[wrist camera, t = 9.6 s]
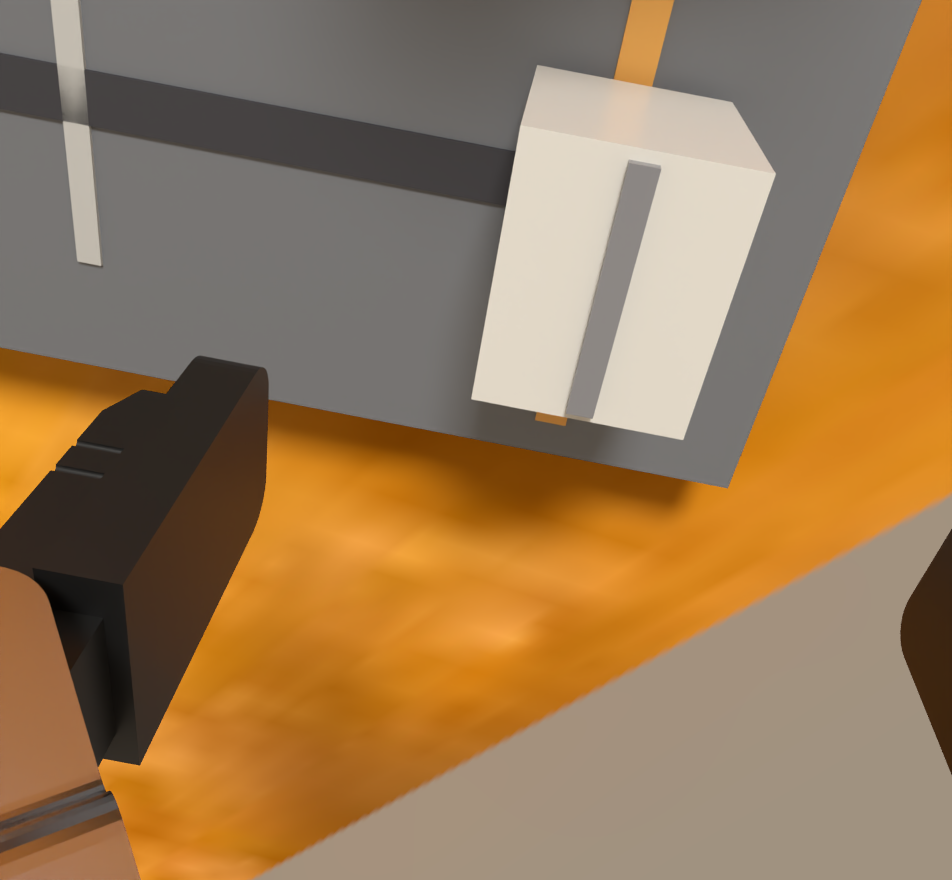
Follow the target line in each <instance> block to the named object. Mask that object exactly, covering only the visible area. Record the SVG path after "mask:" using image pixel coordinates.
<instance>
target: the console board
mask: <svg viewBox="0 0 952 880" xmlns="http://www.w3.org/2000/svg"><path fill="white" fill-rule="evenodd" d="M921 1H922V0H0V347H1V348H6V349H11V350H17V351H22V352H27V353H32V354H37V355H42V356H48V357H53V358H58V359H63V360H68V361H73V362H79V363H84V364H89V365H94V366H99V367H104V368H110V369H115V370H120V371H125V372H130V373H135V374H141V375H146V376H151V377H156V378H161V379H166V380H172V381H177V379H178V378H179V377H180V375H181V374H182V373H183V372H184V370H185V369H186V368H187V366H188V365H189V364H190V362H191V361H192V360H193V359H194V358H195V357H197V356H200V355H201V356H206V357H211V358H216V359H222V360H227V361H232V362H238V363H243V364H248V365H253V366H259V367H263V368H265V369H266V371H267V374H268V380H269V398H268V399H270V400H275V401H280V402H285V403H290V404H295V405H301V406H306V407H311V408H316V409H321V410H326V411H332V412H337V413H342V414H347V415H352V416H357V417H363V418H368V419H373V420H378V421H383V422H388V423H394V424H399V425H404V426H409V427H414V428H419V429H425V430H430V431H435V432H440V433H445V434H450V435H456V436H461V437H466V438H471V439H476V440H481V441H487V442H492V443H497V444H502V445H507V446H512V447H518V448H523V449H528V450H533V451H538V452H543V453H549V454H554V455H559V456H564V457H569V458H574V459H580V460H585V461H590V462H595V463H600V464H605V465H611V466H616V467H621V468H626V469H631V470H636V471H642V472H647V473H652V474H657V475H662V476H667V477H673V478H678V479H683V480H688V481H693V482H698V483H704V484H709V485H714V486H719V487H724V488H728V486H729V484H730V481H731V479H732V476H733V473H734V471H735V468H736V466H737V463H738V461H739V458H740V456H741V453H742V451H743V448H744V446H745V443H746V441H747V438H748V436H749V433H750V431H751V428H752V426H753V423H754V421H755V418H756V416H757V413H758V411H759V408H760V406H761V403H762V401H763V398H764V396H765V393H766V390H767V388H768V385H769V383H770V380H771V378H772V375H773V373H774V370H775V368H776V365H777V363H778V360H779V358H780V355H781V353H782V350H783V348H784V345H785V343H786V340H787V338H788V335H789V333H790V330H791V328H792V325H793V323H794V320H795V318H796V315H797V313H798V310H799V307H800V305H801V302H802V300H803V297H804V295H805V292H806V290H807V287H808V285H809V282H810V280H811V277H812V275H813V272H814V270H815V267H816V265H817V262H818V260H819V257H820V255H821V252H822V250H823V247H824V245H825V242H826V240H827V237H828V235H829V232H830V230H831V227H832V224H833V222H834V219H835V217H836V214H837V212H838V209H839V207H840V204H841V202H842V199H843V197H844V194H845V192H846V189H847V187H848V184H849V182H850V179H851V177H852V174H853V172H854V169H855V167H856V164H857V162H858V159H859V157H860V154H861V152H862V149H863V147H864V144H865V141H866V139H867V136H868V134H869V131H870V129H871V126H872V124H873V121H874V119H875V116H876V114H877V111H878V109H879V106H880V104H881V101H882V99H883V96H884V94H885V91H886V89H887V86H888V84H889V81H890V79H891V76H892V74H893V71H894V69H895V66H896V64H897V61H898V58H899V56H900V53H901V51H902V48H903V46H904V43H905V41H906V38H907V36H908V33H909V31H910V28H911V26H912V23H913V21H914V18H915V16H916V13H917V11H918V8H919V6H920V3H921ZM537 65H540V66H546V67H551V68H556V69H561V70H567V71H572V72H577V73H582V74H588V75H593V76H598V77H603V78H608V79H614V80H619V81H624V82H629V83H635V84H640V85H645V86H650V87H656V88H661V89H666V90H671V91H677V92H682V93H687V94H692V95H698V96H703V97H708V98H713V99H718V100H724V101H729V102H733V104H734V106H735V107H736V109H737V110H738V112H739V114H740V115H741V117H742V119H743V120H744V122H745V124H746V125H747V127H748V129H749V130H750V132H751V134H752V135H753V137H754V139H755V140H756V142H757V144H758V145H759V147H760V148H761V150H762V152H763V153H764V155H765V157H766V158H767V160H768V162H769V163H770V165H771V167H772V168H773V170H774V172H775V173H776V175H775V178H774V181H773V184H772V187H771V189H770V192H769V195H768V198H767V201H766V204H765V207H764V210H763V212H762V215H761V218H760V221H759V224H758V227H757V230H756V232H755V235H754V238H753V241H752V244H751V247H750V250H749V253H748V255H747V258H746V261H745V264H744V267H743V270H742V273H741V275H740V278H739V281H738V284H737V287H736V290H735V293H734V296H733V298H732V301H731V304H730V307H729V310H728V313H727V316H726V319H725V321H724V324H723V327H722V330H721V333H720V336H719V339H718V341H717V344H716V347H715V350H714V353H713V356H712V359H711V362H710V364H709V367H708V370H707V373H706V376H705V379H704V382H703V384H702V387H701V390H700V393H699V396H698V399H697V402H696V405H695V407H694V410H693V413H692V416H691V419H690V422H689V425H688V427H687V430H686V433H685V436H684V439H683V440H680V439H675V438H669V437H664V436H659V435H654V434H649V433H644V432H638V431H633V430H628V429H623V428H618V427H613V426H607V425H602V424H597V423H592V422H587V421H581V420H576V419H571V418H566V417H561V416H556V415H550V414H545V413H540V412H535V411H530V410H525V409H519V408H514V407H509V406H504V405H499V404H494V403H488V402H483V401H478V400H473V399H471V397H472V392H473V386H474V381H475V375H476V369H477V364H478V358H479V353H480V347H481V342H482V336H483V331H484V325H485V319H486V314H487V308H488V303H489V297H490V292H491V286H492V281H493V275H494V269H495V264H496V258H497V253H498V247H499V242H500V236H501V231H502V225H503V219H504V214H505V208H506V203H507V197H508V192H509V186H510V181H511V175H512V170H513V164H514V158H515V153H516V147H517V142H518V136H519V131H520V125H521V122H522V118H523V114H524V111H525V107H526V104H527V100H528V96H529V93H530V89H531V86H532V82H533V78H534V75H535V71H536V68H537Z"/></svg>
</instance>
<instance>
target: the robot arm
mask: <svg viewBox="0 0 952 880" xmlns="http://www.w3.org/2000/svg"><path fill="white" fill-rule="evenodd" d="M268 398H269V380H268V374H267V371H266V369H265V368H263V367H259V366H253V365H248V364H243V363H238V362H232V361H227V360H222V359H216V358H211V357H206V356H201V355H200V356H197V357H195V358H194V359H193V360H192V361H191V362H190V364H189V365H188V366H187V368H186V369H185V370H184V372H183V373H182V374H181V375H180V377H179V378H178V379H177V381H176V382H175V383H174V384H173V386H172V387H171V388H170V390H169V391H168V392H167V394H163V393H158V392H153V391H147V390H140V391H139V392H137V393H135V394H133V395H131V396H129V397H127V398H125V399H124V400H122V401H120V402H118V403H116V404H114V405H112V406H110V407H108V408H107V409H105V410H103V411H102V412H101V413H100V414H99V415H98V416H97V417H96V419H95V420H94V421H93V422H92V423H91V424H90V426H89V427H88V428H87V429H86V430H85V431H84V432H83V434H82V435H81V436H80V437H79V438H78V439H77V444H76V446H71V448H70V449H69V450H68V451H67V452H66V453H65V454H64V456H63V457H62V458H61V459H60V460H59V461H58V463H57V464H56V469H55V471H50V472H49V473H48V474H47V475H46V476H45V478H44V479H43V480H42V481H41V482H40V483H39V485H38V486H37V487H36V488H35V489H34V490H33V492H32V493H31V494H30V495H29V496H28V497H27V499H26V500H25V501H24V502H23V503H22V504H21V505H20V507H19V508H18V509H17V510H16V511H15V512H14V514H13V515H12V516H11V517H10V518H9V519H8V521H7V522H6V523H5V524H4V525H3V526H2V527H1V529H0V880H141V879H140V876H139V873H138V869H137V866H136V863H135V859H134V856H133V853H132V849H131V846H130V843H129V840H128V836H127V833H126V830H125V826H124V823H123V820H122V817H121V814H120V811H119V808H118V806H117V803H116V800H115V798H114V796H113V794H112V792H111V791H108V792H106V791H105V788H104V785H103V783H102V780H101V776H100V773H99V770H98V767H99V765H100V763H101V761H102V759H108V760H114V761H119V762H124V763H130V764H135V765H140V764H141V762H142V760H143V758H144V756H145V754H146V751H147V749H148V747H149V745H150V743H151V741H152V739H153V737H154V735H155V733H156V731H157V729H158V727H159V725H160V723H161V721H162V718H163V716H164V714H165V712H166V710H167V708H168V706H169V704H170V702H171V700H172V698H173V696H174V694H175V692H176V690H177V688H178V686H179V683H180V681H181V679H182V677H183V675H184V673H185V671H186V669H187V667H188V665H189V663H190V661H191V659H192V657H193V655H194V653H195V650H196V648H197V646H198V644H199V642H200V640H201V638H202V636H203V634H204V632H205V630H206V628H207V626H208V624H209V622H210V620H211V617H212V615H213V613H214V611H215V609H216V607H217V605H218V603H219V601H220V599H221V597H222V595H223V593H224V591H225V589H226V587H227V585H228V582H229V580H230V578H231V576H232V574H233V572H234V570H235V568H236V566H237V564H238V562H239V560H240V558H241V556H242V554H243V552H244V549H245V547H246V545H247V543H248V541H249V539H250V537H251V535H252V533H253V531H254V528H255V526H256V523H257V520H258V517H259V514H260V510H261V506H262V502H263V497H264V491H265V483H266V464H267V431H268ZM900 632H901V646H902V651H903V655H904V658H905V660H906V663H907V665H908V668H909V670H910V673H911V675H912V678H913V680H914V683H915V685H916V687H917V690H918V692H919V695H920V698H921V700H922V702H923V705H924V707H925V710H926V712H927V715H928V717H929V720H930V722H931V725H932V727H933V730H934V732H935V734H936V737H937V739H938V742H939V744H940V747H941V749H942V752H943V754H944V757H945V759H946V762H947V764H948V767H949V769H950V772H951V774H952V529H951V531H950V533H949V534H948V536H947V538H946V539H945V541H944V543H943V544H942V546H941V548H940V549H939V551H938V552H937V554H936V556H935V558H934V559H933V561H932V562H931V564H930V566H929V567H928V569H927V571H926V572H925V574H924V575H923V577H922V579H921V580H920V582H919V584H918V585H917V587H916V589H915V590H914V592H913V594H912V595H911V597H910V599H909V600H908V602H907V605H906V607H905V610H904V613H903V616H902V623H901V631H900Z"/></svg>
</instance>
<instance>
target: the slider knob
mask: <svg viewBox="0 0 952 880" xmlns="http://www.w3.org/2000/svg"><path fill="white" fill-rule="evenodd" d="M775 175H776V173H775V172H774V170H773V168H772V167H771V165H770V163H769V162H768V160H767V158H766V157H765V155H764V153H763V152H762V150H761V148H760V147H759V145H758V144H757V142H756V140H755V139H754V137H753V135H752V134H751V132H750V130H749V129H748V127H747V125H746V124H745V122H744V120H743V119H742V117H741V115H740V114H739V112H738V110H737V109H736V107H735V106H734V104H733V102H729V101H724V100H718V99H713V98H708V97H703V96H698V95H692V94H687V93H682V92H677V91H671V90H666V89H661V88H656V87H650V86H645V85H640V84H635V83H629V82H624V81H619V80H614V79H608V78H603V77H598V76H593V75H588V74H582V73H577V72H572V71H567V70H561V69H556V68H551V67H546V66H540V65H537V68H536V71H535V75H534V78H533V82H532V86H531V89H530V93H529V96H528V100H527V104H526V107H525V111H524V114H523V118H522V122H521V125H520V131H519V136H518V142H517V147H516V153H515V158H514V164H513V170H512V175H511V181H510V186H509V192H508V197H507V203H506V208H505V214H504V219H503V225H502V231H501V236H500V242H499V247H498V253H497V258H496V264H495V269H494V275H493V281H492V286H491V292H490V297H489V303H488V308H487V314H486V319H485V325H484V331H483V336H482V342H481V347H480V353H479V358H478V364H477V369H476V375H475V381H474V386H473V392H472V397H471V399H473V400H478V401H483V402H488V403H494V404H499V405H504V406H509V407H514V408H519V409H525V410H530V411H535V412H540V413H545V414H550V415H556V416H561V417H566V418H571V419H576V420H581V421H587V422H592V423H597V424H602V425H607V426H613V427H618V428H623V429H628V430H633V431H638V432H644V433H649V434H654V435H659V436H664V437H669V438H675V439H680V440H683V439H684V436H685V433H686V430H687V427H688V425H689V422H690V419H691V416H692V413H693V410H694V407H695V405H696V402H697V399H698V396H699V393H700V390H701V387H702V384H703V382H704V379H705V376H706V373H707V370H708V367H709V364H710V362H711V359H712V356H713V353H714V350H715V347H716V344H717V341H718V339H719V336H720V333H721V330H722V327H723V324H724V321H725V319H726V316H727V313H728V310H729V307H730V304H731V301H732V298H733V296H734V293H735V290H736V287H737V284H738V281H739V278H740V275H741V273H742V270H743V267H744V264H745V261H746V258H747V255H748V253H749V250H750V247H751V244H752V241H753V238H754V235H755V232H756V230H757V227H758V224H759V221H760V218H761V215H762V212H763V210H764V207H765V204H766V201H767V198H768V195H769V192H770V189H771V187H772V184H773V181H774V178H775Z"/></svg>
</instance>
